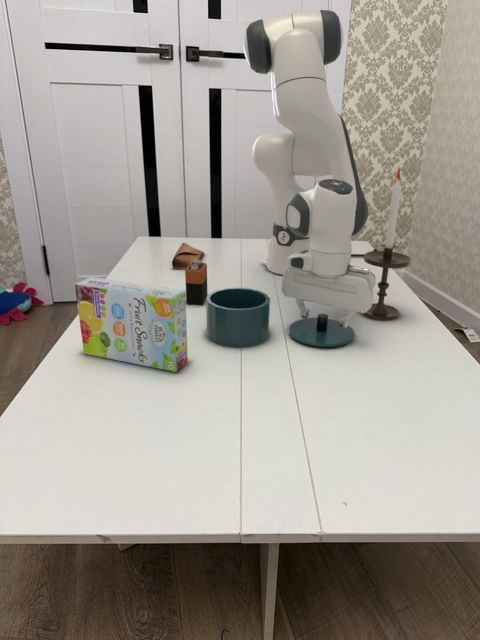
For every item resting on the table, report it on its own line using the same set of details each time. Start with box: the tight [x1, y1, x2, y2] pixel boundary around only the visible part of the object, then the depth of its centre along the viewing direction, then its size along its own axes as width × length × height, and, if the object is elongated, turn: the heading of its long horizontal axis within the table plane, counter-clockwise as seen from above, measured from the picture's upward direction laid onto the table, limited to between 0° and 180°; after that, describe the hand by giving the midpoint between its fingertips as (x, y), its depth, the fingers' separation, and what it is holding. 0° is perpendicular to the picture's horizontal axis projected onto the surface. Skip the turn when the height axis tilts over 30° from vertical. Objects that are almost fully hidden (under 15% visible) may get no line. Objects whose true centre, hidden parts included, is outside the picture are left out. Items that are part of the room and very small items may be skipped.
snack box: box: [74, 276, 189, 373], centre depth 97 cm, size 21×6×15 cm, turn 71°
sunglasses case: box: [171, 242, 205, 271], centre depth 161 cm, size 18×7×7 cm
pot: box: [205, 287, 271, 348], centre depth 111 cm, size 14×14×8 cm
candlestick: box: [361, 165, 412, 321], centre depth 118 cm, size 11×11×35 cm
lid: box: [288, 313, 355, 348], centre depth 112 cm, size 15×15×5 cm
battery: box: [184, 259, 208, 306], centre depth 128 cm, size 4×7×10 cm, turn 175°
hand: (323, 321), depth 112 cm, fingers open, 8 cm apart
